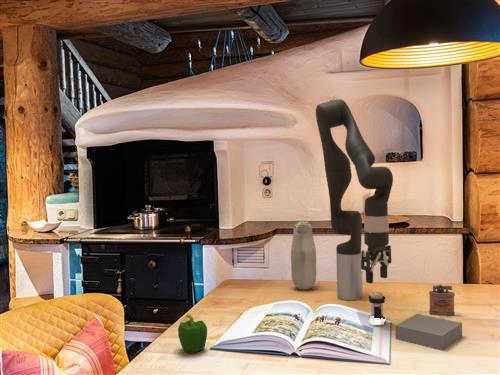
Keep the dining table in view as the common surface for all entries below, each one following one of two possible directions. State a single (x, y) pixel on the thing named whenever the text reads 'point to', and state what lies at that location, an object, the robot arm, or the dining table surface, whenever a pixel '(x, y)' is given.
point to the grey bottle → (303, 256)
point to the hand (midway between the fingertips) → (376, 280)
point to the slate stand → (429, 331)
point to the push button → (377, 305)
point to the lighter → (442, 301)
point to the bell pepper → (192, 335)
